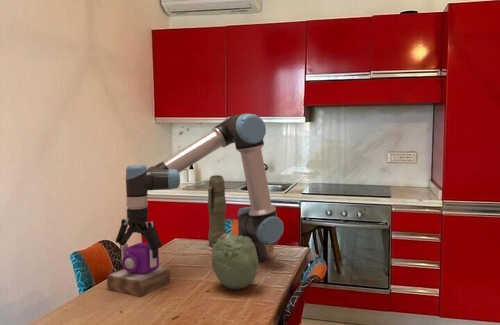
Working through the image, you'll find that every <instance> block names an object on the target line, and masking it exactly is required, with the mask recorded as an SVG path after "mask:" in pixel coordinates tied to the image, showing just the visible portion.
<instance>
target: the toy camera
mask: <svg viewBox="0 0 500 325" xmlns="http://www.w3.org/2000/svg"><path fill="white" fill-rule="evenodd" d="M150 250H151V247H150V246H149V244H148V243H147V242H138V243H136V244H133V245H129V246H128V247H127V248H126V250H125V256H124V258H123V260H122V259H121V264H122V267H123V269H125V270H126V271H127V272H133V273H139V274H146V273H148V272H150V271H152V270H154V269H156V268H158V267H159V265H160V264H159V263H160V262H159V261H160V256H159V252H160V250H159V249H158V257H157V258H156V261H157V266H155V267H152V268H150Z"/></svg>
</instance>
